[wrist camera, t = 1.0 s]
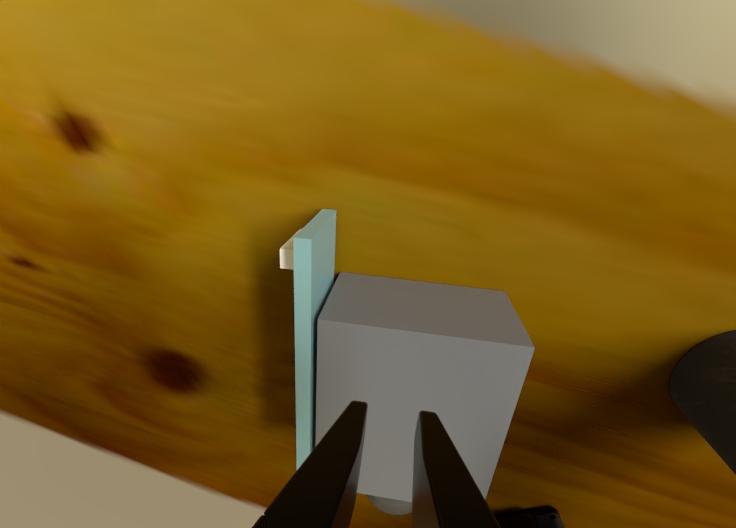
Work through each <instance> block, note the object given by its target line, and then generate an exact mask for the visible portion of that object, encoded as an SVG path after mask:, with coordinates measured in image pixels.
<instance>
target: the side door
mask: <svg viewBox="0 0 736 528" xmlns="http://www.w3.org/2000/svg"><path fill="white" fill-rule="evenodd" d="M335 237H336V210H331V209H322V210H321V211H320V212H319V213H318V214H317V215H316V216H315V217H314V218H313V219H312V220H311V221H310V222H309V223H308V224H307V225H305V226H304V227H303V228H302V229H300V230H298V231H297V232H296V233H295V234H294V235H293V236H292V237H291V238H290V239H289V240H288V241H287V242H286V243H285V244H284V245H283V246H282V247H281V248H280V268H283V269H291V270H294V324H295V390H296V457H297V470H298V468H299V467H300V466H301V465H302V463H303V462H304V461H305V460H306V458H307V457H308V456H309V454H310V453H311V452H312V451H313V449H314V448H315V446H316V386H317V326H318V317H319V315H320V313H321V311H322V309H323V307H324V305H325V303H326V301H327V298H328V296H329V294H330V292H331V290H332V288H333V286H334V264H335Z"/></svg>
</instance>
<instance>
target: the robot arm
mask: <svg viewBox="0 0 736 528" xmlns="http://www.w3.org/2000/svg"><path fill="white" fill-rule="evenodd" d="M367 410H368V404H367V403H366V402H363V401H356V400H353V401H351V402H350V403H349V405H348V406H347V407H346V408H345V410H344V411H343V412H342V414H341V415H340V416H339V417H338V419H337V420H336V421H335V423H334V424H333V425H332V426H331V428H330V429H329V430H328V431H327V433H326V434H325V435H324V437H323V438H322V439H321V440H320V442H319V443H318V444H317V445H316V447H315V448H314V449H313V451H312V452H311V453H310V454H309V456H308V457H307V458H306V460H305V461H304V462H303V463H302V465H301V466H300V467H299V468H298V470H297V471H296V472H295V474H294V475H293V476H292V477H291V479H290V480H289V481H288V482H287V484H286V485H285V486H284V488H283V489H282V490H281V491H280V493H279V494H278V495H277V497H276V498H275V499H274V500H273V502H272V503H271V504H270V505H269V507H268V508H267V509H266V511H265V512H264V515H262V516H261V517H260V518H259V519H258V521H257V522H256V523H255V525H254V526H253V527H252V528H349V525H350V521H351V517H352V513H353V509H354V504H355V500H356V494H357V488H358V481H359V474H360V467H361V459H362V452H363V445H364V438H365V430H366V420H367ZM412 518H413V528H565V527H564V525H563V523H562V520H561V518H560V516H559V513H558V511H557V509H555V508H545V509H539V510H532V511H526V512H520V513H514V514H507V515H501V516H494V515H493V513H492V511H491V509H490V507H489V506H488V504H487V502H486V500H485V499H484V497H483V495H482V493H481V491H480V490H479V488H478V486H477V484H476V483H475V481H474V479H473V477H472V475H471V474H470V472H469V470H468V468H467V467H466V465H465V463H464V461H463V460H462V458H461V456H460V454H459V452H458V451H457V449H456V447H455V445H454V444H453V442H452V440H451V438H450V436H449V435H448V433H447V431H446V429H445V428H444V426H443V424H442V422H441V420H440V419H439V417H438V415H437V414H436V413H435V412H430V411H423V410H421V411H420V412H419V414H418V420H417V425H416V431H415V438H414V461H413V489H412Z"/></svg>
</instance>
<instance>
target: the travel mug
mask: <svg viewBox="0 0 736 528" xmlns="http://www.w3.org/2000/svg"><path fill="white" fill-rule="evenodd" d="M670 393H671V396H672V399H673V401H674V402H675V404H676V405H677V407H678V408H679V409H680V411H681V412H682V413H683V414H684V415H685V417H686V418H687V419H688V420H689V421H690V422H691V424H692V425H693V426H694V427H695V428H696V430H697V431H698V432H699V433H700V434H701V435H702V436H703V438H704V439H705V440H706V441H707V442H708V443H709V445H710V446H711V447H712V448H713V449H714V450H715V451H716V453H717V454H718V455H719V456H720V457H721V458H722V460H723V461H724V462H725V463H726V464H727V465H728V466H729V468H730V469H731V470H732V471H733V472H734V473H735V475H736V331H731V332H727V333H724V334H721V335H718V336H715V337H713V338H711V339H708V340H706V341H704V342H703V343H701V344H699V345H698V346H696V347H695V348H693V349H692V350H691V351H689V352H688V353H687V354H686V355H685V356H684V357H683V358H682V359H681V360H680V361H679V363H678V364H677V365H676V367H675V369H674V371H673V372H672V375H671V378H670Z"/></svg>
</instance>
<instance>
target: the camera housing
mask: <svg viewBox="0 0 736 528" xmlns="http://www.w3.org/2000/svg"><path fill="white" fill-rule="evenodd" d="M534 349H535V346H534V345H533V343H532V341H531V339H530V337H529V335H528V334H527V332H526V330H525V328H524V326H523V324H522V322H521V321H520V319H519V317H518V315H517V313H516V311H515V309H514V308H513V306H512V304H511V302H510V300H509V298H508V297H507V295H506V293H505V291H498V290H489V289H481V288H472V287H464V286H455V285H447V284H439V283H430V282H422V281H413V280H405V279H396V278H388V277H379V276H371V275H362V274H354V273H345V272H340V273H339V275H338V278H337V280H336V282H335V284H334V286H333V288H332V290H331V292H330V294H329V296H328V298H327V301H326V303H325V305H324V307H323V309H322V311H321V313H320V315H319V317H318V326H317V386H316V445H317V444H318V443H319V442H320V440H321V439H322V438H323V437H324V435H325V434H326V433H327V431H328V430H329V429H330V428H331V426H332V425H333V424H334V423H335V421H336V420H337V419H338V417H339V416H340V415H341V414H342V412H343V411H344V410H345V408H346V407H347V406H348V405H349V403H350V402H351V401H353V400H356V401H363V402H366V403H367V404H368V410H367V420H366V430H365V438H364V445H363V452H362V459H361V467H360V474H359V481H358V488H357V493H361V494H366V495H367V497H368V498H369V500H370V501H371V502H372V504H373V505H374V506H376V507H377V508H378V509H379V510H381V511H383V512H385V513H388V514H392V515H404V514H408V513H410V512H412V489H413V461H414V438H415V431H416V425H417V420H418V414H419V412H420V411H421V410H423V411H430V412H435V413H436V414H437V415H438V417H439V419H440V420H441V422H442V424H443V426H444V428H445V429H446V431H447V433H448V435H449V436H450V438H451V440H452V442H453V444H454V445H455V447H456V449H457V451H458V452H459V454H460V456H461V458H462V460H463V461H464V463H465V465H466V467H467V468H468V470H469V472H470V474H471V475H472V477H473V479H474V481H475V483H476V484H477V486H478V488H479V490H480V491H481V493H482V495H483V497H484V499H486V496H487V493H488V490H489V487H490V484H491V481H492V478H493V475H494V471H495V468H496V465H497V462H498V459H499V456H500V453H501V450H502V447H503V444H504V441H505V438H506V435H507V432H508V429H509V426H510V423H511V420H512V416H513V413H514V410H515V407H516V404H517V401H518V398H519V395H520V392H521V389H522V386H523V383H524V380H525V377H526V374H527V371H528V368H529V364H530V361H531V358H532V355H533V352H534ZM315 447H316V446H315Z"/></svg>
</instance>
